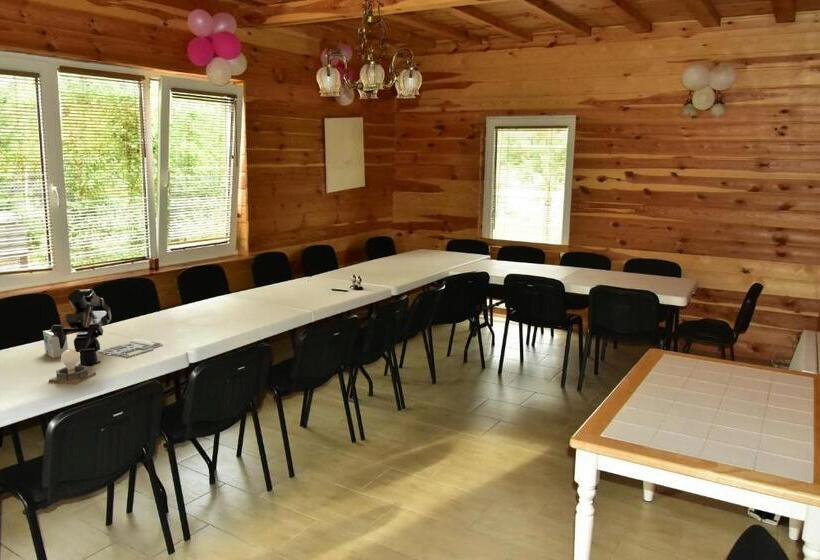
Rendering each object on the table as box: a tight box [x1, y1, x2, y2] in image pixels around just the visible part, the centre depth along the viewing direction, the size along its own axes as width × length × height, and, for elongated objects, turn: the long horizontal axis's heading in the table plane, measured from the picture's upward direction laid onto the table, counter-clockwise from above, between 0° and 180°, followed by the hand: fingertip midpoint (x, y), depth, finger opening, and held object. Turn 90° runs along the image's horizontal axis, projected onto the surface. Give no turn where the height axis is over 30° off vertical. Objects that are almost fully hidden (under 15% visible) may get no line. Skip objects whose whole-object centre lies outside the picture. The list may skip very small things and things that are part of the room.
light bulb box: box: [42, 329, 69, 359], centre depth 292 cm, size 11×7×11 cm, turn 47°
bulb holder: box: [48, 364, 97, 385], centre depth 260 cm, size 12×12×4 cm
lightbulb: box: [60, 348, 80, 374], centre depth 259 cm, size 6×6×11 cm
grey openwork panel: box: [96, 338, 164, 359], centre depth 299 cm, size 23×3×20 cm
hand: (73, 348), depth 261 cm, fingers open, 9 cm apart
